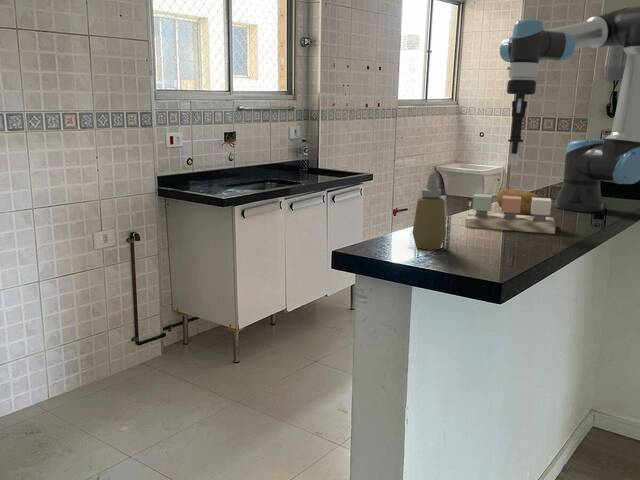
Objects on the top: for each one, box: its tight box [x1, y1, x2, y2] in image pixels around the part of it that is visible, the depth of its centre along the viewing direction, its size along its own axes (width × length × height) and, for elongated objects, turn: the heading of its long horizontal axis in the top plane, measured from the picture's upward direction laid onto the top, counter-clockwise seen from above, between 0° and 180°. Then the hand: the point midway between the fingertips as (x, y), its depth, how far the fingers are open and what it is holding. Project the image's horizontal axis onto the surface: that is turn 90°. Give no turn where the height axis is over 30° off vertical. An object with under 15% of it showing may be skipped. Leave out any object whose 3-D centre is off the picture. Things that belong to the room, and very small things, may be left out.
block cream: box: [530, 197, 552, 222], centre depth 170 cm, size 5×5×6 cm
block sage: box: [472, 193, 493, 217], centre depth 175 cm, size 5×5×6 cm
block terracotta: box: [501, 196, 521, 219], centre depth 173 cm, size 5×5×6 cm
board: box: [464, 211, 556, 235], centre depth 174 cm, size 24×12×2 cm, turn 72°
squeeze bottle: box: [412, 173, 447, 251], centre depth 144 cm, size 8×8×18 cm
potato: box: [496, 188, 541, 216], centre depth 191 cm, size 10×14×8 cm
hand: (513, 165), depth 171 cm, fingers closed
